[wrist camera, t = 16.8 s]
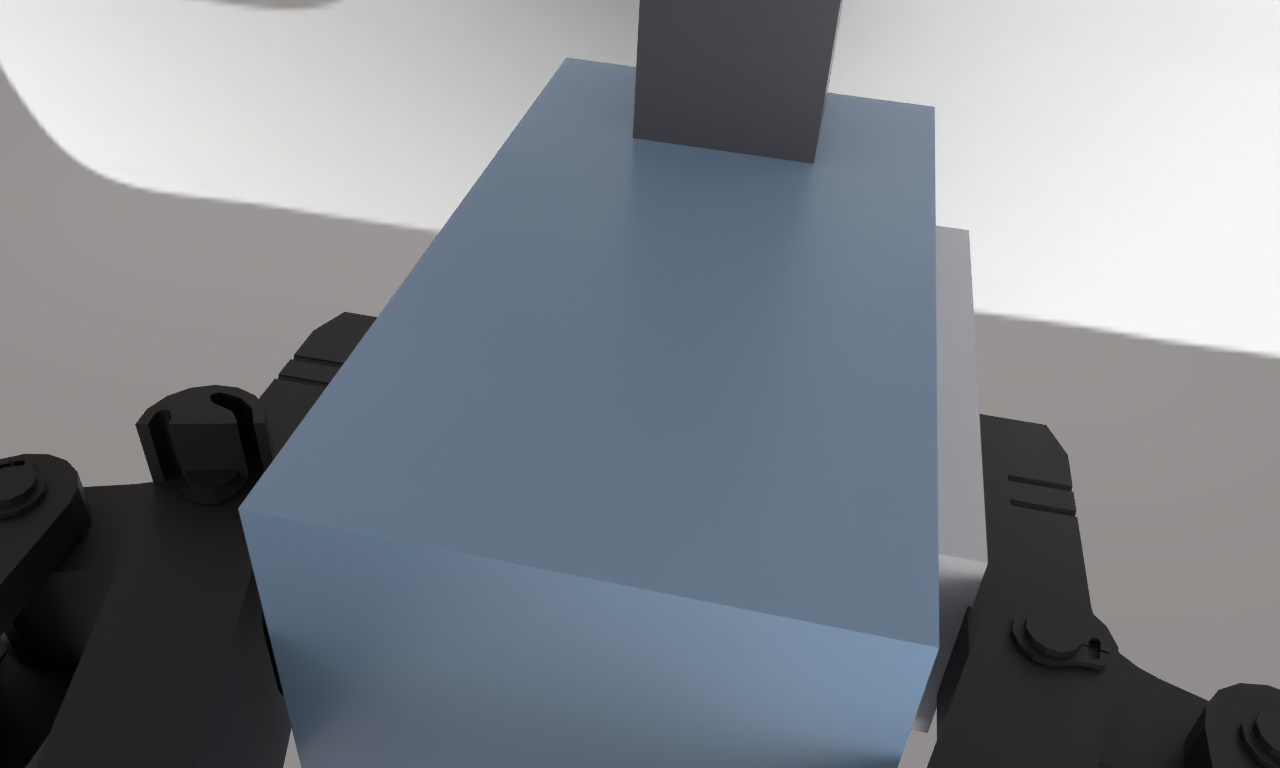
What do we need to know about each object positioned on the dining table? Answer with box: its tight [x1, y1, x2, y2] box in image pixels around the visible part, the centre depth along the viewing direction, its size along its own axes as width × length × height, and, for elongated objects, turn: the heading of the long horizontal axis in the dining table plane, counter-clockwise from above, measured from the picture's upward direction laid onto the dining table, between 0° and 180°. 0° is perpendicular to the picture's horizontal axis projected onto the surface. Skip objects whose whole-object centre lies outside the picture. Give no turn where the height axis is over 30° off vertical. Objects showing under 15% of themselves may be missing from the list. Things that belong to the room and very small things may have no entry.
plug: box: [238, 0, 939, 768], centre depth 12 cm, size 12×6×10 cm, turn 177°
